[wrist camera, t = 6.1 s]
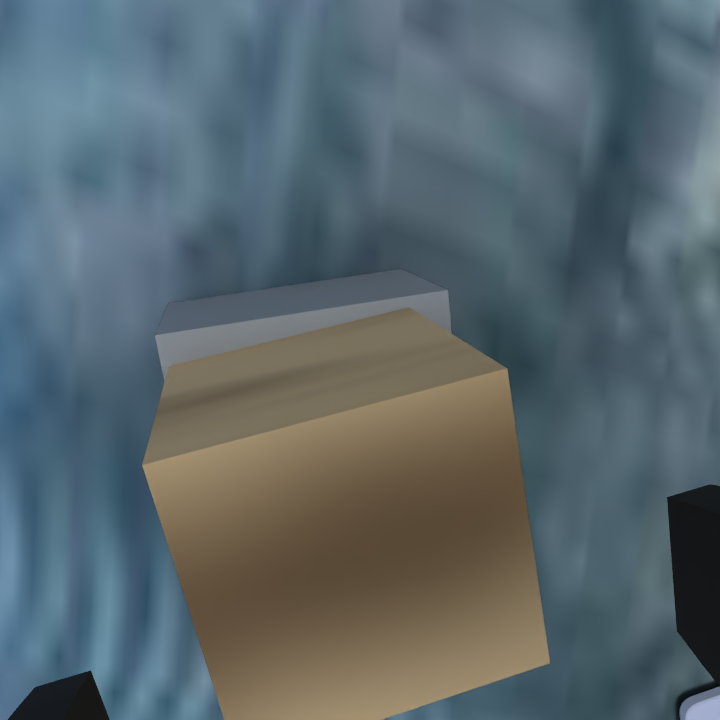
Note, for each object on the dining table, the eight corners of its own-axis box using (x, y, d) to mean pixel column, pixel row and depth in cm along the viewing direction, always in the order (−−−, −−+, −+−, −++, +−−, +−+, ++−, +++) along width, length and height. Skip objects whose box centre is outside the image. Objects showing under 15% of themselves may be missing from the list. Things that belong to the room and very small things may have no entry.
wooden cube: (447, 517, 15) (549, 663, 11) (232, 580, 15) (239, 767, 10) (409, 307, 14) (507, 368, 9) (168, 366, 13) (142, 465, 9)
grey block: (420, 473, 20) (468, 543, 16) (210, 515, 19) (209, 599, 15) (399, 268, 18) (448, 290, 14) (169, 301, 17) (155, 335, 13)
